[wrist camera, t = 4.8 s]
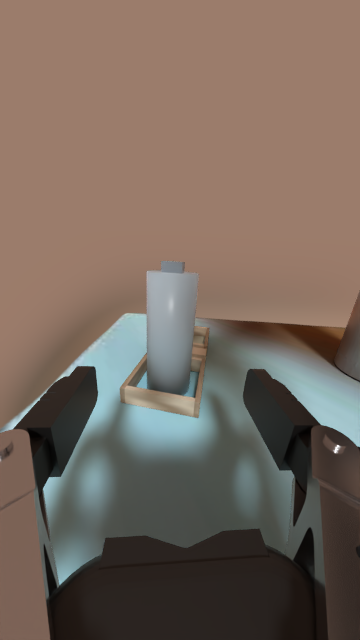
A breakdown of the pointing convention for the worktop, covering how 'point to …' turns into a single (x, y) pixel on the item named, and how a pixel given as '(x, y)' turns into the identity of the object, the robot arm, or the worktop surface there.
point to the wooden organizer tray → (167, 400)
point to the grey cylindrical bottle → (170, 327)
